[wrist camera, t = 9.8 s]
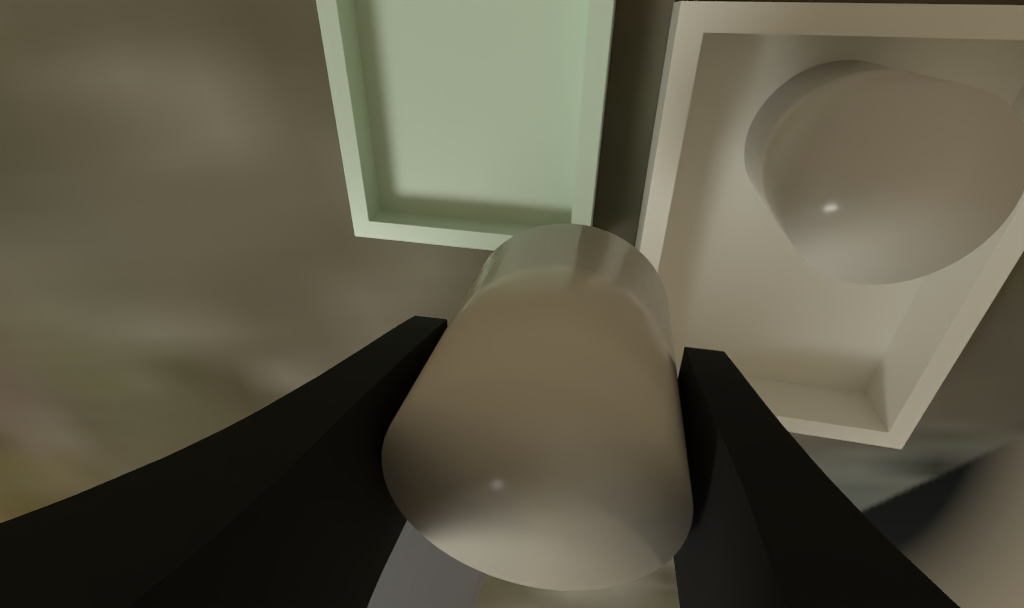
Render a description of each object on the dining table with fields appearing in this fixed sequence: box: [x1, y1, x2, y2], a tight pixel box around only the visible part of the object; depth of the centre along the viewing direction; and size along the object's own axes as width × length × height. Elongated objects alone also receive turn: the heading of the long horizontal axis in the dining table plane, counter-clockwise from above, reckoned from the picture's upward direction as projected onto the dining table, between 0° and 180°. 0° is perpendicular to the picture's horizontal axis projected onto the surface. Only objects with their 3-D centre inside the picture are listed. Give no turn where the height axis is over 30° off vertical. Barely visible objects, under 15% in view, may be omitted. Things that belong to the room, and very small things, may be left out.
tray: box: [316, 0, 616, 251], centre depth 14 cm, size 12×8×2 cm, turn 179°
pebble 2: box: [744, 60, 1024, 285], centre depth 11 cm, size 4×4×4 cm
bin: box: [635, 1, 1024, 449], centre depth 14 cm, size 12×9×2 cm
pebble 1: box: [382, 223, 693, 591], centre depth 8 cm, size 4×4×4 cm
